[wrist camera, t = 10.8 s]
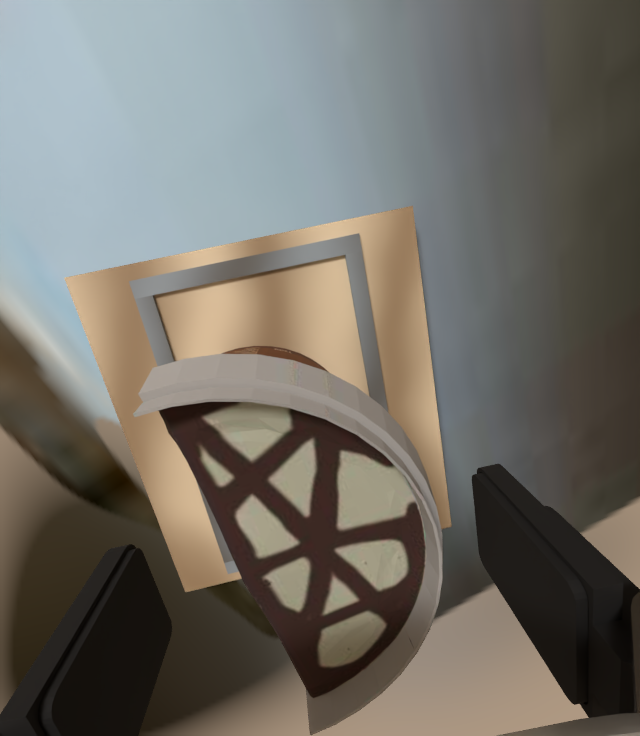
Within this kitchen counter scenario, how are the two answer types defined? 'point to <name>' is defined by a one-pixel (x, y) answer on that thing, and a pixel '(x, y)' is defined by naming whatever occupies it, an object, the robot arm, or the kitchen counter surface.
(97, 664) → the robot arm
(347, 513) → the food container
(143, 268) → the base board
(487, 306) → the kitchen counter surface
